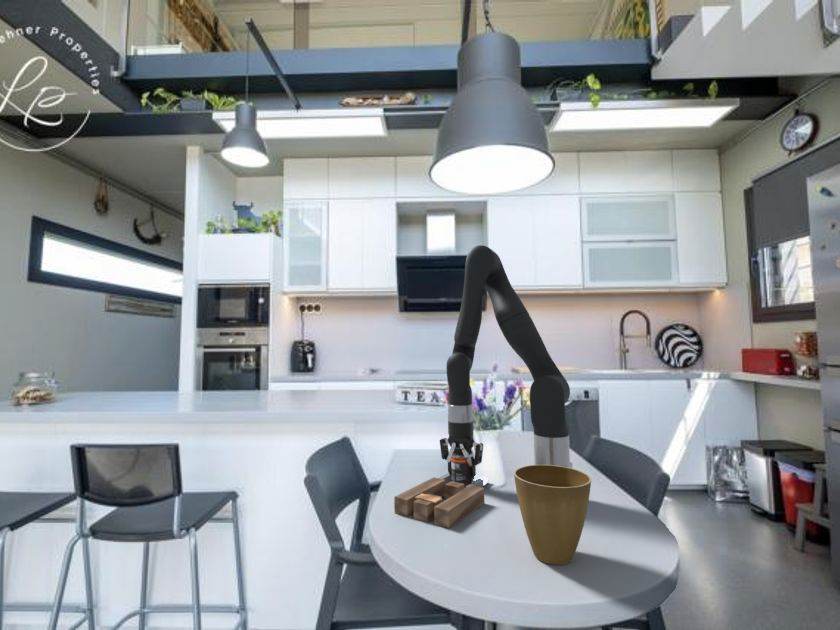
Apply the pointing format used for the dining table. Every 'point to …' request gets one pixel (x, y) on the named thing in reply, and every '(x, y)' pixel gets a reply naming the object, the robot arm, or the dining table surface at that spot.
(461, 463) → the supplement bottle
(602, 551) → the dining table surface
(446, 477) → the cradle
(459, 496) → the socket board
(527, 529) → the plant pot
